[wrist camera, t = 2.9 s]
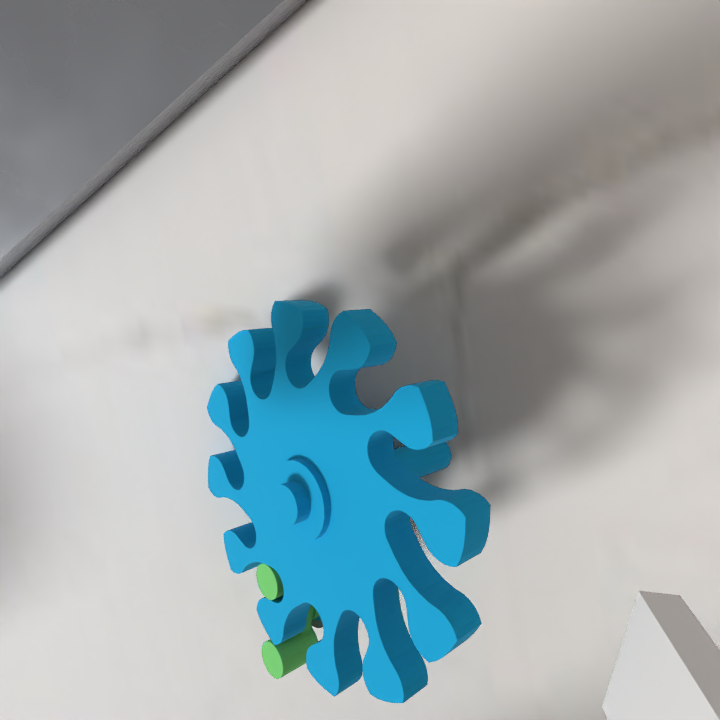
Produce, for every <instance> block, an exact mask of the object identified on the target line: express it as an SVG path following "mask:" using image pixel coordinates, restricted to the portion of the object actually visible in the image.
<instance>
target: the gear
mask: <svg viewBox="0 0 720 720" xmlns="http://www.w3.org/2000/svg"><path fill="white" fill-rule="evenodd" d="M271 322H272V328H265V329H253V330H243V331H240V332H238V333H237V334H235V335H234V336H233V337H232V338H231V339H230V340H229V341H228V348H229V354H230V358H231V360H232V363H233V364H234V366H235V368H236V369H237V371H238V374H239V376H240V378H241V381H235V382H228V383H222V384H217V385H216V387H215V388H214V390H213V391H212V394H211V396H210V399H209V403H208V406H207V409H208V413H209V416H210V418H211V420H212V422H213V423H214V424H215V425H217V426H218V427H220V428H221V429H222V430H223V431H224V432H225V434H226V435H227V436H228V437H229V439H230V441H231V442H232V444H233V446H234V448H235V450H233V451H229V452H225V453H221V454H216V455H212V456H210V459H209V466H208V485H209V489H210V491H211V492H212V494H213V495H214V496H216V497H218V498H220V497H226V498H229V499H231V500H233V501H235V502H236V503H237V504H238V505H239V506H240V507H241V508H242V509H243V510H244V511H245V513H246V514H247V515H248V516H249V517H250V519H251V520H252V522H253V523H248V524H245V525H242V526H240V527H237V528H234V529H231V530H228V531H226V532H225V533H224V543H225V548H226V553H227V557H228V560H229V564H230V567H231V570H232V571H233V572H235V573H237V574H239V573H242V572H245V571H247V570H249V569H252V568H254V567H257V566H258V568H257V582H258V585H259V588H260V590H261V592H262V594H263V595H264V596H265V597H264V598H262V599H260V600H259V602H258V604H257V612H258V615H259V617H260V620H261V622H262V624H263V626H264V628H265V630H266V632H267V634H268V635H269V637H270V640H268V641H266V642H264V643H263V646H262V657H263V661H264V664H265V666H266V668H267V670H268V672H269V673H270V674H271V676H273V677H274V678H276V679H279V678H281V677H283V676H284V675H286V674H288V673H290V672H291V671H293V670H295V669H296V668H298V667H300V666H301V665H303V664H305V663H306V664H307V669H308V670H309V672H310V673H311V675H312V676H313V677H314V678H315V680H316V681H317V682H318V683H319V684H320V685H321V686H322V687H323V688H324V689H325V690H327V691H328V692H329V693H330V694H332V695H333V696H334V697H335V696H336V695H338V694H339V693H341V692H342V691H344V690H345V689H347V688H348V687H350V686H351V685H353V684H354V683H356V682H357V681H358V680H359V679H360V678H361V676H362V671H363V677H364V681H365V684H366V686H367V689H368V691H369V692H370V694H371V695H373V696H374V697H376V698H377V699H380V700H383V701H386V702H391V703H404V702H405V701H406V700H408V699H409V698H410V697H412V696H413V695H414V694H416V693H417V692H418V691H420V690H421V689H422V688H424V687H425V686H426V685H427V682H428V675H427V669H426V666H425V663H424V661H423V658H422V656H423V657H424V658H425V659H426V660H427V661H428V662H433V661H437V660H439V659H440V658H442V657H444V656H445V655H447V654H448V653H449V652H451V651H452V650H453V649H455V648H456V647H458V646H459V645H460V644H462V643H463V642H464V641H466V640H467V639H468V638H469V637H470V636H471V635H472V634H474V632H475V631H476V630H477V629H478V627H479V626H480V625H481V620H480V617H479V614H478V612H477V610H476V608H475V607H474V605H473V604H472V603H471V601H470V600H469V599H468V598H467V597H466V596H465V595H464V594H462V593H461V592H459V591H458V590H456V589H455V588H453V587H452V586H451V585H450V584H449V583H448V582H447V581H445V580H444V579H443V578H442V577H441V575H440V574H439V573H438V572H437V571H436V570H435V569H434V567H433V566H432V564H431V563H430V561H429V560H428V559H427V557H426V555H425V553H424V552H423V550H422V548H421V546H420V544H419V542H418V540H417V538H416V536H415V534H414V532H413V529H412V527H411V523H410V517H411V518H412V520H413V521H414V522H415V524H416V526H417V528H418V530H419V532H420V534H421V536H422V538H423V540H424V542H425V544H426V546H427V548H428V549H429V551H430V552H431V553H432V555H433V556H434V557H435V558H436V559H437V560H439V561H440V562H442V563H443V564H445V565H448V566H452V567H457V566H459V565H460V564H462V563H464V562H466V561H467V560H469V559H471V558H473V557H474V556H476V555H478V554H480V553H481V552H482V550H483V548H484V546H485V544H486V540H487V537H488V532H489V524H490V504H489V503H488V502H487V500H486V499H485V498H484V497H482V496H481V495H480V494H479V493H477V492H474V491H472V490H467V489H461V490H447V489H441V488H438V487H435V486H432V485H430V484H428V483H427V482H425V481H423V480H422V479H420V477H423V476H425V475H428V474H431V473H433V472H436V471H439V470H441V469H444V468H446V467H447V466H448V465H449V463H450V461H451V452H450V448H449V446H448V445H447V443H446V441H449V440H451V439H453V438H455V436H456V435H457V434H458V421H457V416H456V411H455V408H454V405H453V402H452V399H451V396H450V394H449V391H448V389H447V386H446V384H445V382H443V381H440V380H431V381H426V382H421V383H416V384H411V385H406V386H403V387H401V388H399V389H398V390H397V391H396V392H395V393H394V395H393V396H392V397H391V399H390V400H389V401H388V402H387V403H386V404H385V405H384V406H383V407H382V408H380V409H370V408H367V407H365V406H364V405H363V404H362V403H361V402H360V401H359V399H358V397H357V395H356V391H355V378H356V374H357V372H358V371H359V370H360V369H361V368H365V367H371V366H377V365H383V364H385V363H387V362H388V361H389V360H390V359H391V357H392V356H393V354H394V352H395V349H396V344H397V342H396V340H395V338H394V336H393V334H392V332H391V331H390V329H389V328H388V326H387V325H386V324H385V323H384V322H383V321H382V320H381V318H380V317H378V316H377V315H376V314H375V313H374V312H373V311H372V310H371V309H364V310H349V311H343V312H341V313H339V314H338V316H337V317H336V318H335V320H334V322H333V324H332V327H331V333H330V343H329V347H328V352H327V355H326V358H325V361H324V363H323V365H322V367H321V369H320V371H319V372H318V374H317V375H316V376H314V374H313V372H312V368H311V355H312V352H313V350H314V349H315V347H316V346H317V345H318V344H319V343H320V342H321V341H322V340H323V338H324V337H325V335H326V333H327V330H328V325H329V315H328V310H327V309H326V308H325V307H324V306H323V305H321V304H319V303H317V302H313V301H306V300H292V301H275V302H274V305H273V308H272V312H271ZM275 368H276V370H275ZM393 436H394V437H395V438H396V439H397V440H399V441H400V442H401V443H402V444H404V445H405V446H404V447H400V448H397V449H394V447H393ZM398 588H399V589H400V591H401V592H402V594H403V596H404V599H405V602H406V607H407V616H408V626H409V632H410V635H411V637H410V635H409V633H408V630H407V627H406V625H405V622H404V619H403V615H402V611H401V607H400V600H399V591H398ZM359 618H361V619H362V621H363V623H364V624H365V627H366V629H367V632H368V636H369V646H368V650H367V652H366V655H365V657H364V660H363V666H362V660H361V655H360V651H359V644H358V623H359ZM311 625H312V626H314V627H316V628H321V627H323V629H324V635H323V639H322V640H320V641H319V642H318V639H317V636H316V634H315V632H314V630H313V629H312V626H311ZM411 638H412V639H411ZM420 654H421V655H422V656H421V655H420Z"/></svg>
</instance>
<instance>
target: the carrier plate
mask: <svg viewBox="0 0 720 720" xmlns="http://www.w3.org/2000/svg"><path fill="white" fill-rule="evenodd" d="M306 1H307V0H0V278H1V277H2V276H3V275H4V274H5V273H6V272H7V271H8V270H9V269H10V268H12V267H13V266H14V265H15V264H16V263H17V262H18V261H19V260H20V259H22V258H23V257H24V256H25V255H26V254H27V253H28V252H29V251H30V250H31V249H33V248H34V247H35V246H36V245H37V244H38V243H39V242H40V241H41V240H43V239H44V238H45V237H46V236H47V235H48V234H49V233H50V232H51V231H53V230H54V229H55V228H56V227H57V226H58V225H59V224H60V223H61V222H62V221H64V220H65V219H66V218H67V217H68V216H69V215H70V214H71V213H72V212H74V211H75V210H76V209H77V208H78V207H79V206H80V205H81V204H82V203H83V202H85V201H86V200H87V199H88V198H89V197H90V196H91V195H92V194H93V193H95V192H96V191H97V190H98V189H99V188H100V187H101V186H102V185H103V184H104V183H106V182H107V181H108V180H109V179H110V178H111V177H112V176H113V175H114V174H116V173H117V172H118V171H119V170H120V169H121V168H122V167H123V166H124V165H126V164H127V163H128V162H129V161H130V160H131V159H132V158H133V157H134V156H135V155H137V154H138V153H139V152H140V151H141V150H142V149H143V148H144V147H145V146H147V145H148V144H149V143H150V142H151V141H152V140H153V139H154V138H155V137H156V136H158V135H159V134H160V133H161V132H162V131H163V130H164V129H165V128H166V127H168V126H169V125H170V124H171V123H172V122H173V121H174V120H175V119H176V118H178V117H179V116H180V115H181V114H182V113H183V112H184V111H185V110H186V109H187V108H189V107H190V106H191V105H192V104H193V103H194V102H195V101H196V100H197V99H199V98H200V97H201V96H202V95H203V94H204V93H205V92H206V91H207V90H208V89H210V88H211V87H212V86H213V85H214V84H215V83H216V82H217V81H218V80H220V79H221V78H222V77H223V76H224V75H225V74H226V73H227V72H228V71H229V70H231V69H232V68H233V67H234V66H235V65H236V64H237V63H238V62H239V61H241V60H242V59H243V58H244V57H245V56H246V55H247V54H248V53H249V52H251V51H252V50H253V49H254V48H255V47H256V46H257V45H258V44H259V43H260V42H262V41H263V40H264V39H265V38H266V37H267V36H268V35H269V34H270V33H272V32H273V31H274V30H275V29H276V28H277V27H278V26H279V25H280V24H281V23H283V22H284V21H285V20H286V19H287V18H288V17H289V16H290V15H291V14H293V13H294V12H295V11H296V10H297V9H298V8H299V7H300V6H301V5H303V4H304V3H305V2H306Z"/></svg>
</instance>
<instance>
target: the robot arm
mask: <svg viewBox="0 0 720 720" xmlns="http://www.w3.org/2000/svg"><path fill="white" fill-rule="evenodd" d="M602 708H603V710H604V712H605V715H606V717H607V719H608V720H720V650H719V649H718V647H717V646H716V645H715V643H714V642H713V640H712V639H711V638H710V636H709V635H708V633H707V632H706V631H705V629H704V628H703V627H702V625H701V624H700V622H699V621H698V620H697V618H696V617H695V615H694V614H693V613H692V611H691V610H690V608H689V607H688V606H687V604H686V603H685V602H684V600H683V599H682V597H681V596H680V595H671V594H662V593H653V592H645V591H638V594H637V597H636V600H635V603H634V607H633V610H632V613H631V616H630V619H629V622H628V626H627V629H626V632H625V635H624V638H623V642H622V645H621V648H620V651H619V654H618V657H617V661H616V664H615V667H614V670H613V673H612V676H611V680H610V683H609V686H608V689H607V692H606V695H605V699H604V702H603V705H602Z"/></svg>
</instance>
